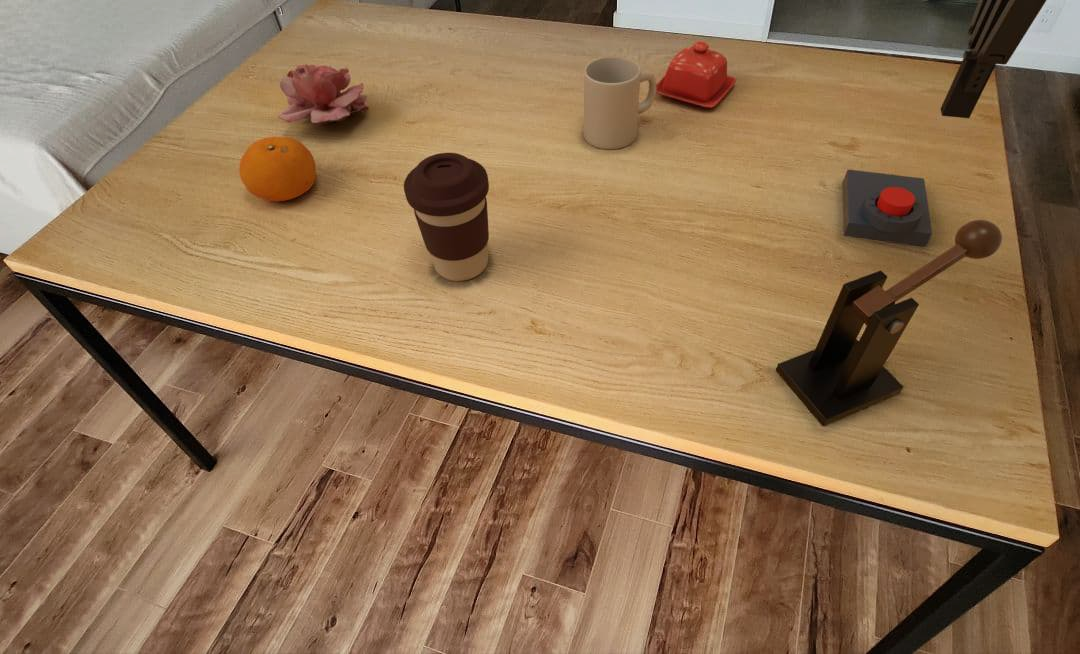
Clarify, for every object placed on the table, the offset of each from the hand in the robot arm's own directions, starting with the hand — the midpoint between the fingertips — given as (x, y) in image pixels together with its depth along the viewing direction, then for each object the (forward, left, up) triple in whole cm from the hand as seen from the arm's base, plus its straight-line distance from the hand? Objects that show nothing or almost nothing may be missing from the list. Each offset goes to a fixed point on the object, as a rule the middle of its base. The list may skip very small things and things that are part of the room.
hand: (954, 113), depth 70 cm
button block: (+5, +1, -18) cm, 19 cm away
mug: (+17, +40, -18) cm, 48 cm away
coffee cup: (-18, +54, -18) cm, 60 cm away
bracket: (-26, +7, -18) cm, 32 cm away
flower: (+10, +89, -18) cm, 92 cm away
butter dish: (+32, +30, -18) cm, 48 cm away
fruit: (-9, +86, -18) cm, 89 cm away
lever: (-22, +3, -5) cm, 23 cm away
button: (+2, +1, -15) cm, 15 cm away
